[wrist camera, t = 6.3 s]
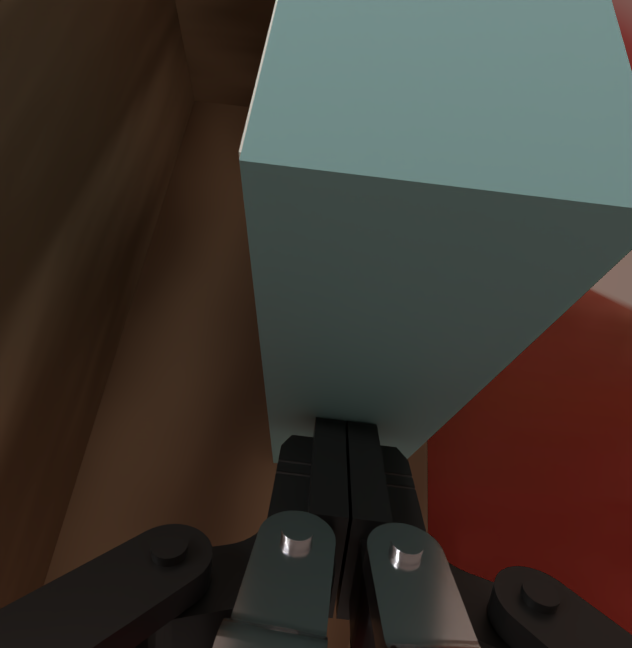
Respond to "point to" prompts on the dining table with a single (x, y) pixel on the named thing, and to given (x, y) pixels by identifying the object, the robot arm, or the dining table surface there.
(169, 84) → the open wooden box
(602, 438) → the dining table surface
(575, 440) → the dining table surface
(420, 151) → the rectangular block
